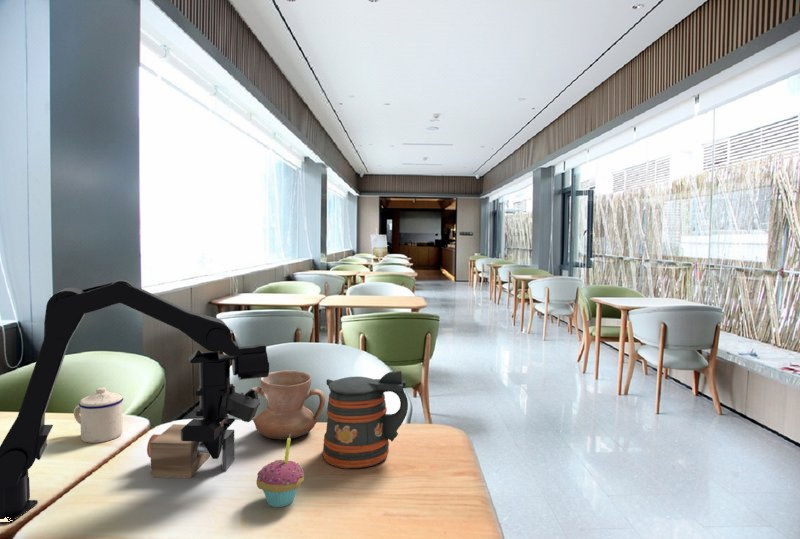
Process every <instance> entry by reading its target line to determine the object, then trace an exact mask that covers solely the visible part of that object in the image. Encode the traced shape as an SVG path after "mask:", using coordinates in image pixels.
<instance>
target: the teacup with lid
mask: <svg viewBox="0 0 800 539" xmlns="http://www.w3.org/2000/svg"><path fill="white" fill-rule="evenodd" d="M123 401H124V398H123V396H122V395H121V394H120V393H117V392H111V391H109V390H107V388H106V387H105V386H103V387H101V386H100V387H98V388H97V389H96V391H95V392H93V393H91V394H90V395H88V396H85V397H83V398H82V399H80V400H79V403H78V405H76V406H75V408H74V409H73V416H74V420H75V421H76V422H77V423H78V424H79V425H80V439H81V441H82V442H85V443H92V444H93V443H95V444H96V443H104V442H105V443H106V442H109V441H111V440H114V439H117V438H118V437H120V436H121V435H122V434H123V430H124V429H123Z"/></svg>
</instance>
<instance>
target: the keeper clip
mask: <svg viewBox="0 0 800 539" xmlns="http://www.w3.org/2000/svg"><path fill="white" fill-rule="evenodd" d="M199 442H203V441H199ZM221 454H222V455H221V456H222V459H221V461H222V463H221V465H222V466H221V467H222V468H221V469H222V471H226V472H227V470H228V469H230V467H231V465H232V464H233V463H234V461H235V429H229V428H228V429H227V430H226V433H225V436H224V440H223V444H222V449H221Z"/></svg>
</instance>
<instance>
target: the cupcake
mask: <svg viewBox="0 0 800 539" xmlns="http://www.w3.org/2000/svg"><path fill="white" fill-rule="evenodd" d="M290 435H291V434H290ZM290 435H289V438H287V439H286V444H285V445H286V446H285V453H284V454H285V455H284V460H282V459H277V460H274V461H271V462H270V463H268V464H267V465H265V466H263V467H262V468H261V469H260V470H259V471H258V472H257V478H256V487H257V488H258V489H259V490H262V491H263V494H264V496H265V499H266V502H267V504H268V505H269V506H270V507H274V508H281V507H287V506H289V505H290V504H292V503H293V502H294V500H295V497H296V493H297V491H298V489H299V487H300V485H301V484H302V483H303V482H304V480H305V472H304V469H303V467H302V466H300V465H299V463H297V462H295V461H293V460H289V455H290V448H291V441H292V440H291V439H290Z"/></svg>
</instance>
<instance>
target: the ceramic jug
mask: <svg viewBox="0 0 800 539" xmlns="http://www.w3.org/2000/svg"><path fill="white" fill-rule="evenodd" d="M312 378H313V377H312V375H311V374H309V373H307V372H305V371H299V370H279V371H273V372H272V371H271V372H269V375H268V377H262V378H260V387H259V386H255V387H252V388H251V389H253V390H256V391H257V393H258V396H261V397H263V398H264V399H265V401H266V404H267V405H268V406H267V407H266V408H264V409H263V410H261V411H260V412H259V413H257V415H255V416H254V417H253V418H252V420H253V424H254V425H255V426H254V427H255V429H256V430H257V432H258V433H259V434H260V435H262V436H264V437H265V438H269V439H271V440H272V439H274V440H287V438H289V435H290V434H291V435H290V439H295V438H299V437H301V436H304V435H306V434H308V433H309V432H311V431H312V430H313V429H314V427H315V426H316V424H317V423H318V421H319V417H320V415H321V413H322V412H323V410H324V408H325V405H326V396H325V393H324V392H323V390H320V389H318V388H313V389H311V390H310V388H311V384H312ZM315 395H316V396H318V398H319V405H318V408H317V410H316V412H315V414H314V413H313V412H312V411H311V410H310V409H309V408H307V407H306V406H305V405H304V403H305V401H306V400H307V399H309V398H310V397H311V396H312V397H313V396H315Z"/></svg>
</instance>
